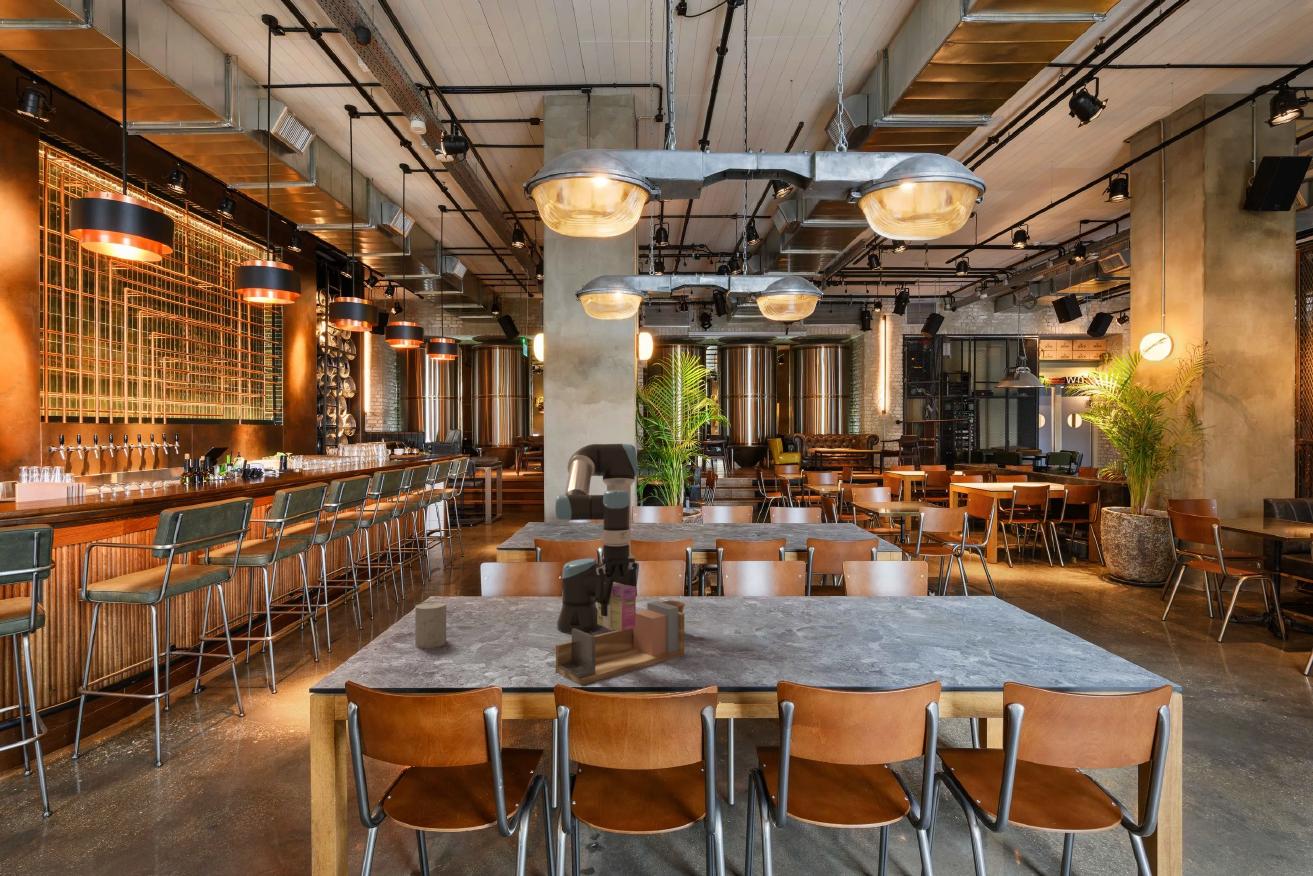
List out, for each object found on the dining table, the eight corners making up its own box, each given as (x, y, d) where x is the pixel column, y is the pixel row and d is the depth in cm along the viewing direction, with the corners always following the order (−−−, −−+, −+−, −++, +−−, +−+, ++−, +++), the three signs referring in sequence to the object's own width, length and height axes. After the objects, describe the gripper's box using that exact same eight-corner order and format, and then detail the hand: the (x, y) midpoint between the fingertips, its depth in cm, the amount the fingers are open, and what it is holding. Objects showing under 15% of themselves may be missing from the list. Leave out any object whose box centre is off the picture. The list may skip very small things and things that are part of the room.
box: (636, 627, 178) (636, 586, 178) (621, 632, 174) (621, 589, 174) (611, 620, 185) (611, 580, 185) (597, 624, 181) (596, 583, 181)
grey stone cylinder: (453, 641, 203) (453, 603, 203) (430, 649, 194) (431, 610, 194) (430, 637, 207) (430, 600, 207) (408, 645, 198) (408, 606, 198)
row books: (633, 648, 190) (633, 605, 190) (657, 642, 196) (657, 600, 196) (654, 657, 182) (654, 612, 183) (678, 650, 189) (678, 607, 189)
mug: (661, 630, 215) (661, 600, 215) (686, 631, 213) (686, 601, 213) (654, 640, 203) (654, 609, 203) (680, 642, 201) (680, 610, 201)
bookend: (559, 668, 173) (559, 631, 173) (575, 663, 177) (575, 628, 177) (579, 678, 166) (579, 640, 166) (595, 673, 169) (595, 636, 169)
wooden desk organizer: (555, 671, 175) (555, 626, 175) (656, 644, 199) (656, 605, 199) (581, 685, 165) (581, 637, 165) (684, 655, 189) (684, 613, 189)
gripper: (596, 549, 171) (596, 634, 170) (650, 542, 183) (650, 621, 182) (581, 545, 176) (581, 628, 176) (634, 539, 189) (634, 616, 188)
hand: (616, 624), depth 179 cm, fingers closed on box, 6 cm apart
